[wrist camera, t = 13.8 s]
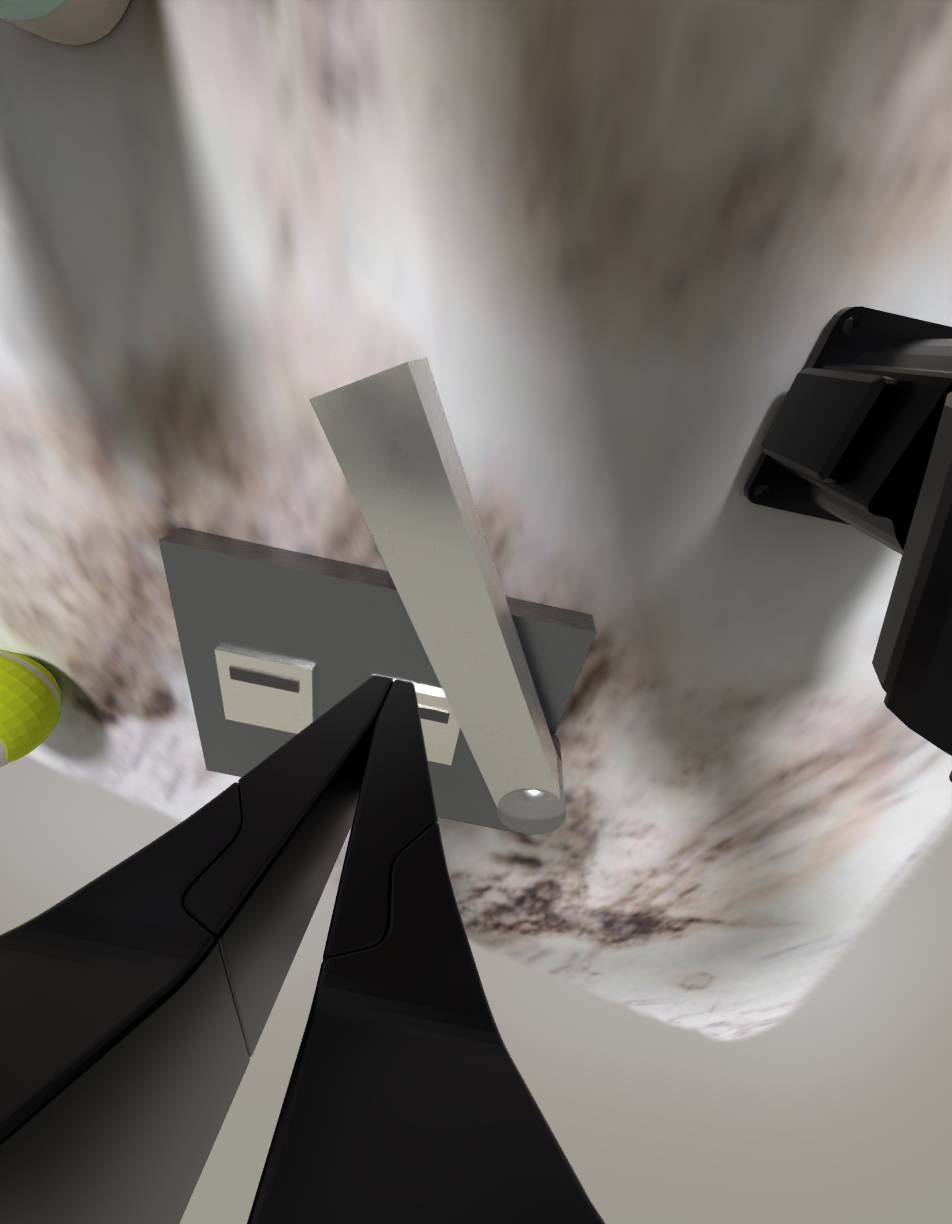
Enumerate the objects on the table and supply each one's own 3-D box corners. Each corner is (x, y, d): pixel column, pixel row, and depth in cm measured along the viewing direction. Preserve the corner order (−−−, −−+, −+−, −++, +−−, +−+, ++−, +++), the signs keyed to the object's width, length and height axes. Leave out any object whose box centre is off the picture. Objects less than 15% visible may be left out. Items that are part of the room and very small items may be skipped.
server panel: (604, 617, 22) (612, 648, 19) (523, 813, 30) (523, 849, 28) (180, 527, 21) (142, 548, 19) (220, 751, 30) (196, 783, 28)
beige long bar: (567, 781, 24) (572, 830, 21) (509, 788, 25) (507, 837, 22) (429, 356, 14) (409, 360, 12) (340, 390, 15) (304, 400, 12)
